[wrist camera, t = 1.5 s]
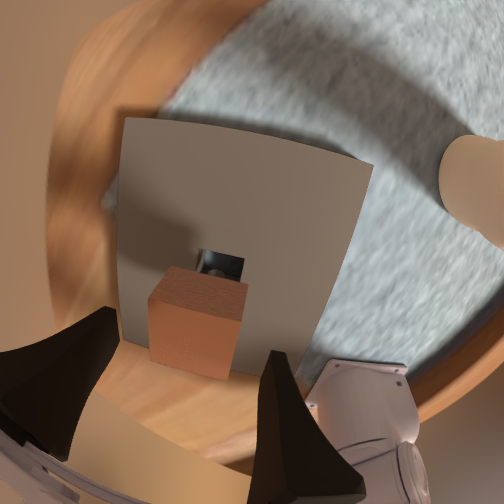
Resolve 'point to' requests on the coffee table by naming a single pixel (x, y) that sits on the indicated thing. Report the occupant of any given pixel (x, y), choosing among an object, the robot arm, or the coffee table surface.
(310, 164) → the base
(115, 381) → the coffee table surface
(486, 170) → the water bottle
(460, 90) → the coffee table surface
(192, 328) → the orange rectangular block
